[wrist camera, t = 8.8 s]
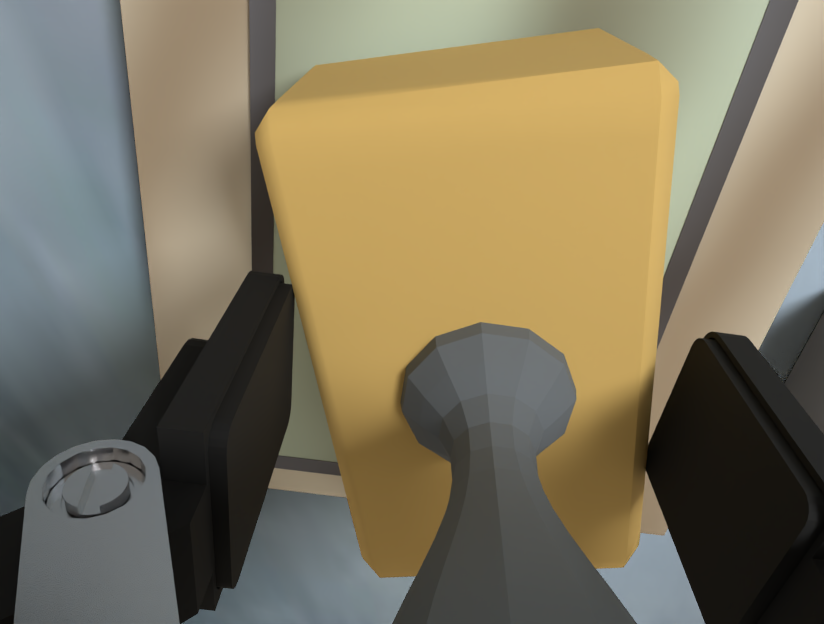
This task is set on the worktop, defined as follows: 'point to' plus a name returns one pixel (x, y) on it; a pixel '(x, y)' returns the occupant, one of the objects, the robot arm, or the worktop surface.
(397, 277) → the rubber stamp
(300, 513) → the worktop surface
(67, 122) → the worktop surface
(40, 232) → the worktop surface
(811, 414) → the button housing
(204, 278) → the picture board
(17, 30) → the worktop surface
